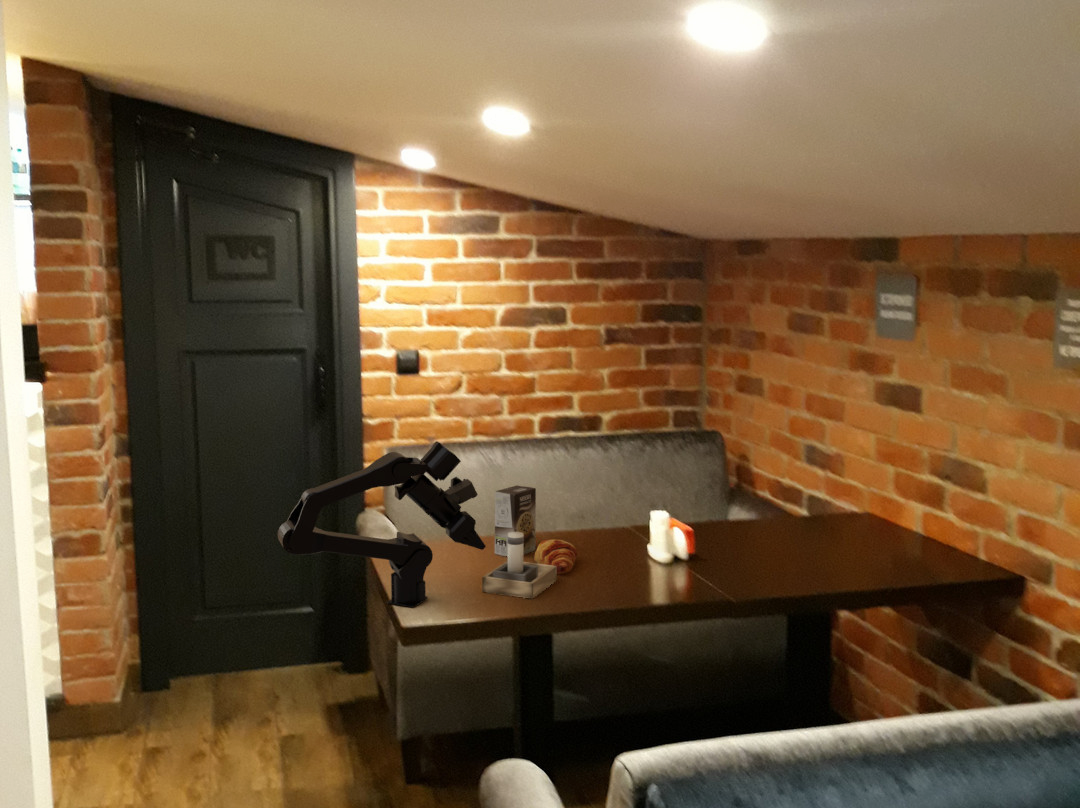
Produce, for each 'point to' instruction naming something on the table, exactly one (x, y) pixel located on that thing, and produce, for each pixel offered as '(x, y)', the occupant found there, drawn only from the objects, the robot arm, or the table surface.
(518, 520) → the coffee box
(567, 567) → the croissant
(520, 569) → the white banded cylinder
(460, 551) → the table surface
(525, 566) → the box
